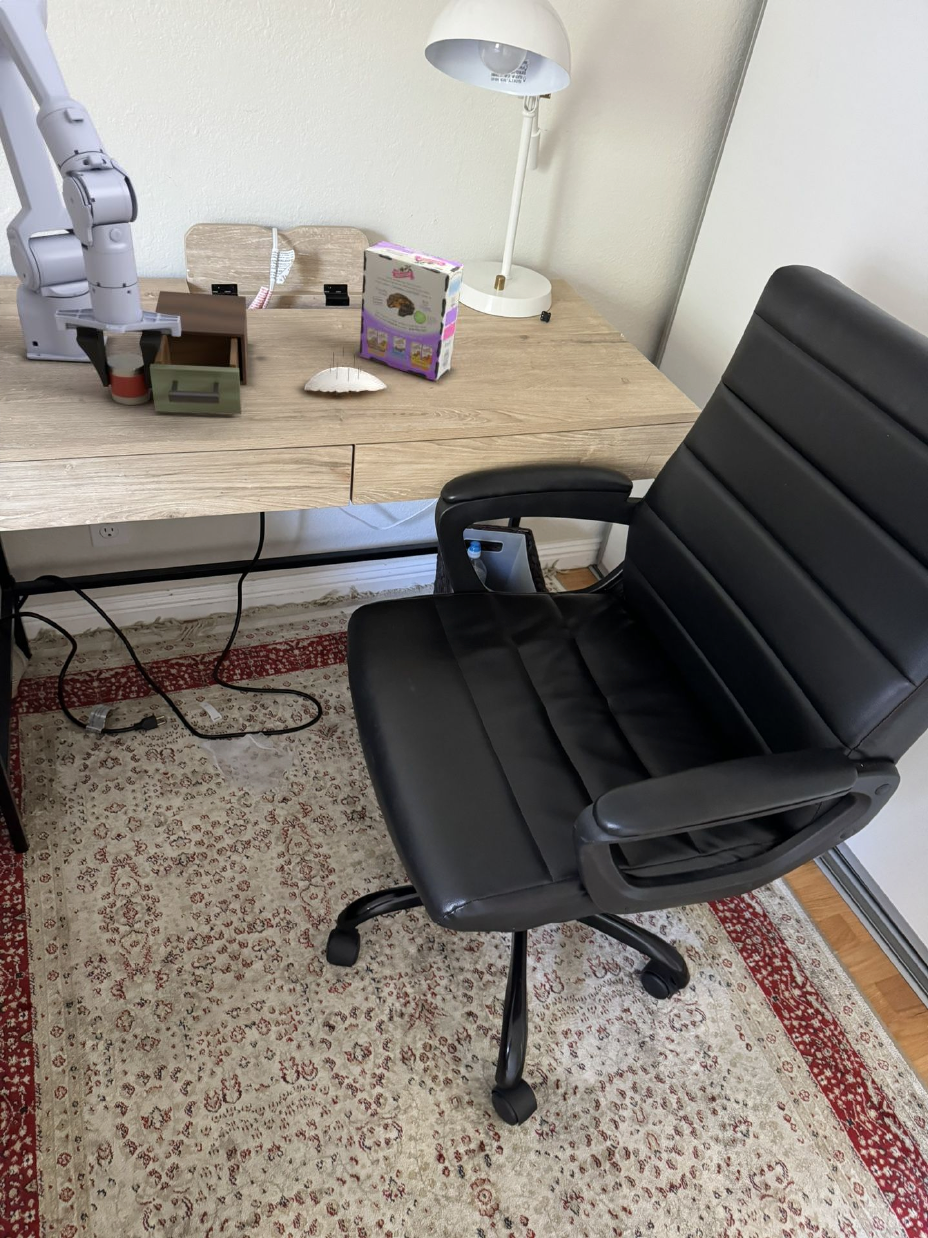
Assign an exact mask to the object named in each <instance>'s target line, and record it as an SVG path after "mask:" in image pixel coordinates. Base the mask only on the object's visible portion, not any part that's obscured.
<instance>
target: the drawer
mask: <svg viewBox="0 0 928 1238" xmlns="http://www.w3.org/2000/svg"><path fill="white" fill-rule="evenodd" d="M239 372H240V370H239V350H238V337H226V336H208V335H190V334H181V336H180V337H177V336H172V335H171V334H163V336H162V341H161V345H160V347H159V350H158V353H157V356H156V358H155V363H154V364H151V365H150V374H151V382H152V389H151V390H152V396H153V404H154V411H155V412H174V413H176V412H177V413H178V412H179V413H205V414H206V413H208V414H232V415H233V414H234V415H241V414H242V398H241V385H240V377H239Z"/></svg>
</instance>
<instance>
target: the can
mask: <svg viewBox="0 0 928 1238" xmlns="http://www.w3.org/2000/svg"><path fill="white" fill-rule="evenodd" d="M106 363H107V371H108V377H109V383H110V385H109V388H110V392H111V398H112V400H113V401H115V402H116V403H118V404H121V405H128V406H136V405H141V404H144V403H146V402H148V401H149V400H150V398H151V391H150V390H151V389H146V384H145V371H144V363H143V358H142V355H139V354H136V353H128V352H121V353H115V354H113V355H111V356H108V357H107V361H106Z"/></svg>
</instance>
